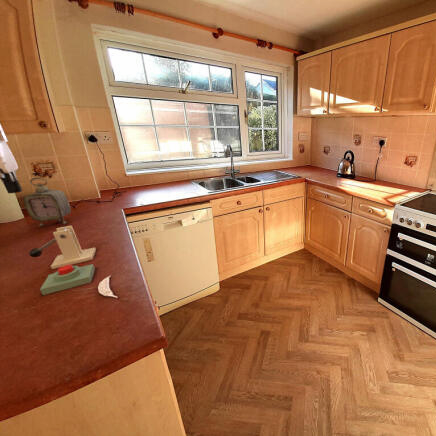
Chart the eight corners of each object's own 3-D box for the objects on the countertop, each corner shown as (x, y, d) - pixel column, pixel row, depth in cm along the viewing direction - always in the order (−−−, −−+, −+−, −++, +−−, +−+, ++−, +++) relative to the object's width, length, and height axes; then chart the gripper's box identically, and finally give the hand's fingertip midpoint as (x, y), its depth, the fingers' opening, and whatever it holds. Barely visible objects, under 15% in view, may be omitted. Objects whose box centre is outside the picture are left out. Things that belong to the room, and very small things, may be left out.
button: (58, 276, 78) (56, 272, 77) (61, 271, 81) (59, 266, 80) (72, 273, 79) (70, 268, 79) (75, 267, 82) (73, 263, 82)
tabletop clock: (35, 228, 125) (12, 180, 115) (47, 221, 133) (27, 176, 124) (67, 225, 127) (47, 178, 118) (77, 219, 136) (60, 174, 126)
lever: (34, 260, 88) (25, 254, 86) (37, 256, 90) (28, 250, 88) (71, 235, 91) (62, 229, 89) (73, 232, 93) (65, 226, 92)
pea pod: (97, 281, 81) (96, 277, 80) (113, 276, 83) (112, 272, 83) (100, 305, 70) (98, 301, 69) (118, 298, 72) (116, 294, 72)
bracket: (51, 269, 89) (36, 237, 84) (58, 258, 96) (45, 228, 91) (92, 259, 94) (80, 229, 89) (96, 249, 101) (85, 221, 96)
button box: (42, 295, 75) (37, 284, 73) (51, 280, 82) (46, 270, 81) (90, 282, 80) (86, 272, 79) (95, 269, 88) (91, 259, 86)
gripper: (-16, 137, 83) (10, 189, 90) (-42, 139, 71) (-11, 199, 78) (15, 136, 87) (37, 186, 94) (-6, 138, 75) (21, 195, 82)
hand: (15, 192), depth 86 cm, fingers closed
